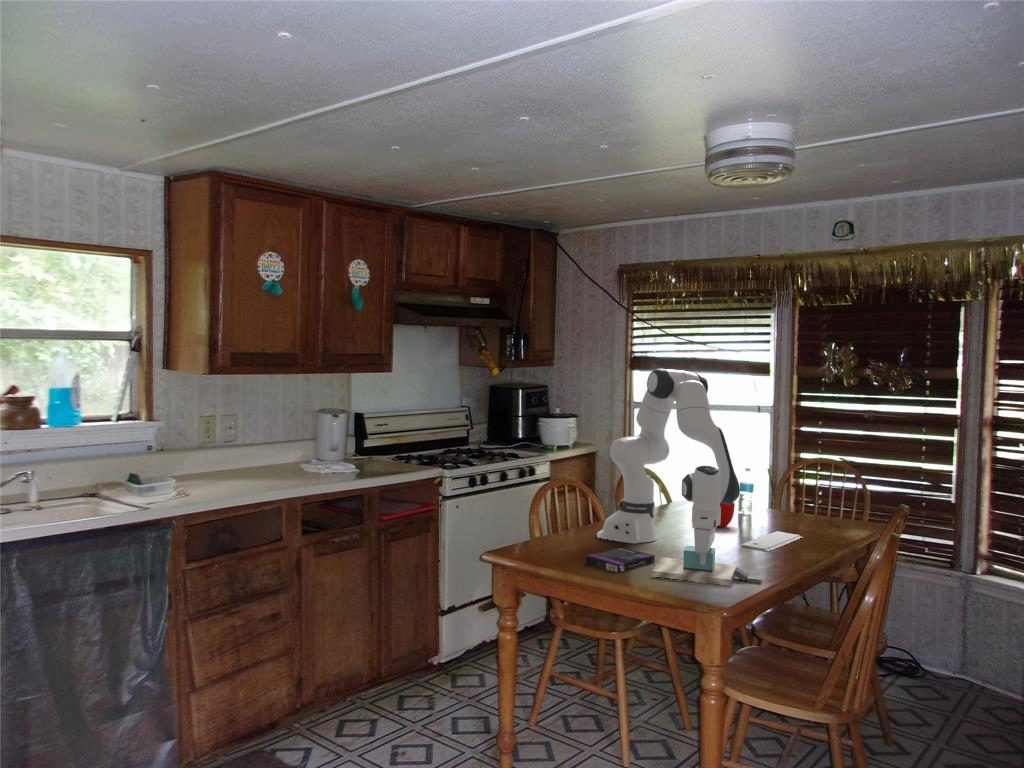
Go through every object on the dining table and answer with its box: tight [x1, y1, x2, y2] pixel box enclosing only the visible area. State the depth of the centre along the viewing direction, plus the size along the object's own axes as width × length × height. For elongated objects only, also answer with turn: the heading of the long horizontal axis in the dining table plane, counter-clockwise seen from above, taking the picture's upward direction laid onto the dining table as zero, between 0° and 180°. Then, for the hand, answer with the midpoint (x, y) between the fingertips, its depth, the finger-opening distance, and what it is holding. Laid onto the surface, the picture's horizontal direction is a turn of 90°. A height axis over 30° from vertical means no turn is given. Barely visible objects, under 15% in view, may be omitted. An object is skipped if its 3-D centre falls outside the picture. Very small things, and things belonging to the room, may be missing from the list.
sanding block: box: [682, 545, 716, 572], centre depth 253 cm, size 9×6×6 cm
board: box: [651, 557, 737, 587], centre depth 253 cm, size 24×18×2 cm
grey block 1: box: [733, 566, 749, 582], centre depth 248 cm, size 4×4×2 cm
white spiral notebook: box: [740, 530, 804, 553], centre depth 299 cm, size 31×3×12 cm
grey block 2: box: [746, 574, 762, 585], centre depth 247 cm, size 4×4×2 cm
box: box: [585, 546, 656, 573], centre depth 265 cm, size 14×4×20 cm
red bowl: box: [716, 501, 735, 529], centre depth 327 cm, size 13×17×10 cm
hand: (704, 561), depth 252 cm, fingers closed on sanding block, 6 cm apart
